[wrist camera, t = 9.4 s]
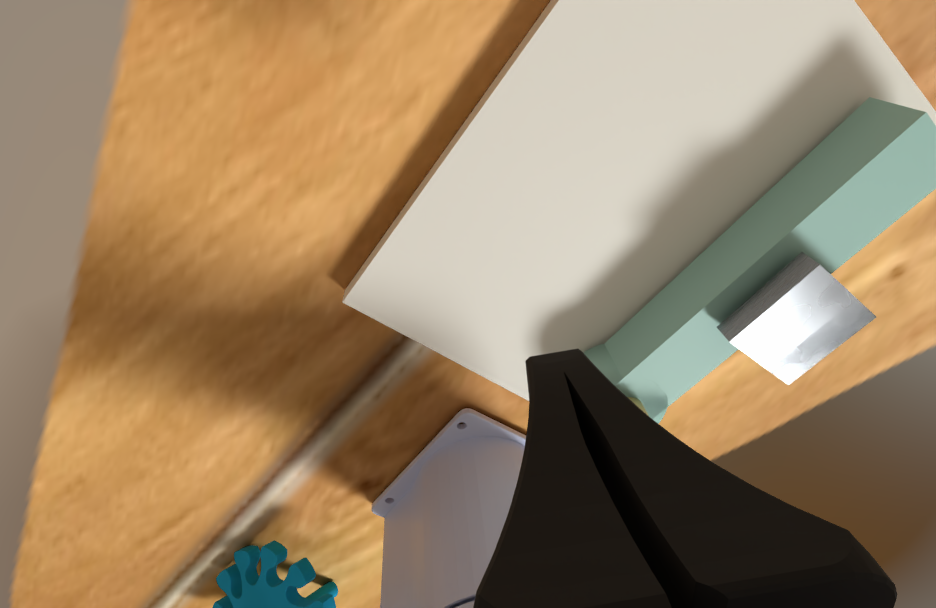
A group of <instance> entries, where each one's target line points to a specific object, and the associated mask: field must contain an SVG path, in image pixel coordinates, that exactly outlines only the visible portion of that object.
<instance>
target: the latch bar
mask: <svg viewBox="0 0 936 608" xmlns="http://www.w3.org/2000/svg"><path fill="white" fill-rule="evenodd" d="M935 189H936V125H935V124H934V122H933V121H932V120H931V118H930V117H929V115H928V114H927V112H924V111H920V110H917V109H913V108H909V107H905V106H901V105H898V104H894V103H890V102H886V101H882V100H879V99H875V98H871V97H869V98H868V99H867V100H866V101H865V102H864V103H863V104H862V105H861V106H860V107H858V108H857V109H856V110H855V111H854V112H853V113H852V114H851V115H850V116H849V117H848V118H847V119H846V120H844V121H843V122H842V123H841V124H840V125H839V126H838V127H837V128H836V129H835V130H834V131H833V132H832V133H830V134H829V135H828V136H827V137H826V138H825V139H824V140H823V141H822V142H821V143H820V144H819V145H818V146H817V147H815V148H814V149H813V150H812V151H811V152H810V153H809V154H808V155H807V156H806V157H805V158H804V159H803V160H801V161H800V162H799V163H798V164H797V165H796V166H795V167H794V168H793V169H792V170H791V171H790V172H789V173H787V174H786V175H785V176H784V177H783V178H782V179H781V180H780V181H779V182H778V183H777V184H776V185H775V186H773V187H772V188H771V189H770V190H769V191H768V192H767V193H766V194H765V195H764V196H763V197H762V198H761V199H759V200H758V201H757V202H756V203H755V204H754V205H753V206H752V207H751V208H750V209H749V210H748V211H747V212H746V213H744V214H743V215H742V216H741V217H740V218H739V219H738V220H737V221H736V222H735V223H734V224H733V225H732V226H730V227H729V228H728V229H727V230H726V231H725V232H724V233H723V234H722V235H721V236H720V237H719V238H718V239H716V240H715V241H714V242H713V243H712V244H711V245H710V246H709V247H708V248H707V249H706V250H705V251H704V252H702V253H701V254H700V255H699V256H698V257H697V258H696V259H695V260H694V261H693V262H692V263H691V264H690V265H689V266H687V267H686V268H685V269H684V270H683V271H682V272H681V273H680V274H679V275H678V276H677V277H676V278H675V279H673V280H672V281H671V282H670V283H669V284H668V285H667V286H666V287H665V288H664V289H663V290H662V291H661V292H659V293H658V294H657V295H656V296H655V297H654V298H653V299H652V300H651V301H650V302H649V303H648V304H647V305H645V306H644V307H643V308H642V309H641V310H640V311H639V312H638V313H637V314H636V315H635V316H634V317H633V318H631V319H630V320H629V321H628V322H627V323H626V324H625V325H624V326H623V327H622V328H621V329H620V330H619V331H618V332H616V333H615V334H614V335H613V336H612V337H611V338H610V339H609V340H608V341H607V342H606V343H605V344H601V345H598V346H595V347H593V348H590V349H589V350H587V351H585V352H584V354H585V355H586V356H587V357H588V359H589V360H590V361H591V362H592V363H593V364H594V365H595V366H596V367H597V368H598V369H599V370H600V371H601V372H602V373H603V374H604V375H605V376H606V377H607V378H608V379H609V380H610V381H611V382H612V383H613V384H614V385H615V386H616V387H617V388H618V389H619V390H620V391H621V392H622V393H623V394H624V395H625V396H626V397H628V398H629V399H630V400H631V401H632V402H633V403H634V404H635V405H636V406H637V407H639V408H640V409H641V410H642V411H643V412H644V413H646V414H647V415H648V416H649V417H650V418H652V419H653V420H654V421H655V422H657V423H659V422H660V421H661V420H662V418H663V417H664V415H665V412H666V410H667V407H668V406H669V405H671V404H672V403H673V402H674V401H676V400H677V399H678V398H679V397H681V396H682V395H683V394H684V393H685V392H687V391H688V390H689V389H690V388H692V387H693V386H694V385H695V384H696V383H698V382H699V381H700V380H701V379H703V378H704V377H705V376H706V375H708V374H709V373H710V372H711V371H712V370H714V369H715V368H716V367H717V366H719V365H720V364H721V363H722V362H723V361H725V360H726V359H727V358H728V357H730V356H731V355H732V354H733V353H735V352H736V351H737V350H738V348H737V347H735V346H734V345H733V344H731V343H730V342H729V341H728V340H727V339H726V338H725V336H724V335H723V334H722V333H721V332H720V331H719V330H718V328H717V326H718V325H719V324H720V323H722V322H723V321H724V320H725V319H726V318H727V317H728V316H730V315H731V314H732V313H733V312H734V311H735V310H736V309H737V308H739V307H740V306H741V305H742V304H743V303H744V302H745V301H747V300H748V299H749V298H750V297H751V296H752V295H753V294H754V293H756V292H757V291H758V290H759V289H760V288H761V287H762V286H764V285H765V284H766V283H767V282H768V281H769V280H770V279H771V278H773V277H774V276H775V275H776V274H777V273H778V272H779V271H781V270H782V269H783V268H784V267H785V266H786V265H787V264H789V263H790V262H791V261H792V260H793V259H794V258H795V257H796V256H798V255H799V254H800V253H801V252H803V253H804V254H806V255H807V256H809V257H810V258H811V259H813V260H814V261H816V262H817V263H819V264H820V265H821V266H822V267H823V268H824V269H825V270H826V271H828V272H829V273H830V274H831V273H833V272H834V271H835V270H836V269H838V268H839V267H840V266H841V265H842V264H844V263H845V262H846V261H847V260H849V259H850V258H851V257H852V256H854V255H855V254H856V253H857V252H858V251H860V250H861V249H862V248H863V247H865V246H866V245H867V244H868V243H869V242H871V241H872V240H873V239H874V238H876V237H877V236H878V235H879V234H881V233H882V232H883V231H884V230H885V229H887V228H888V227H889V226H890V225H892V224H893V223H894V222H895V221H896V220H898V219H899V218H900V217H901V216H903V215H904V214H905V213H906V212H908V211H909V210H910V209H911V208H912V207H914V206H915V205H916V204H917V203H919V202H920V201H921V200H922V199H923V198H925V197H926V196H927V195H928V194H930V193H931V192H932V191H933V190H935Z"/></svg>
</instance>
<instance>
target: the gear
mask: <svg viewBox="0 0 936 608" xmlns="http://www.w3.org/2000/svg"><path fill="white" fill-rule="evenodd" d="M260 557H261V572H260V576H259V575H258V573H257V569H256V568H257V564H258V562H259V559H260ZM286 557H287V549H286V548H285V547H284V546H283V545H282V544H280V543H278V542H276V541H272V542H270V543H268V544H266V545H265V546H263V547H262V548H261V552H260V550H259V547H258V546H255V545H250V546H247V547H244V548H242V549H240V550H238V551H236V552H235V553H234V560H235V563H236V564H234V565H232V566H230V567H229V568H227V569H225V570H223V571H222V572H220V574H219V575H218V576H217V578H216V580H217V584H218V586H219V587H220V588H221V589H222V590H223V591H224V592H225V593H226V594H227V596H225V597H224V598H222V599H220V600H218V601H217V602H215V603H214V605H213V608H336V605H335V601H334V597H336V596H337V594H338V588H337V586H336V584H335V583H334V582H332V581H331V582H328V583H326V584H325V585H324V586H322V587H321V588H319V589H318V590H316V591H315V592H313V593H312V594H310V595H309V596H307V597H306V598H304V597H302V596H300V594H299V593H298V591H297V588H301V587H303V586H305V585H306V584H308V583H309V582H311V581H312V580H313V579H314V578H315V576H316V573H315V571H314V569H313V567H312V565H311V563H310V562H309V561H308V559H307V558H303V559H301V560H299V561H298V562H296V563H294V564H293V565H291V566H290V568H289V571H288V575H287V577H286V579H285V580H284V581H283V580H281V579H280V578H279V577H278V575H277V572H276V568H277V565H278V564H279V563H281V562H283V561H284V560H285V559H286Z"/></svg>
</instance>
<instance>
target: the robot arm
mask: <svg viewBox="0 0 936 608" xmlns="http://www.w3.org/2000/svg"><path fill="white" fill-rule="evenodd" d="M525 363H526V373H527V383H528V392H529V402H530V403H529V419H528V427H527V434H526V435H524V434H522V433H520V432H518V431H516V430H514V429H512V428H510V427H507V426H505V425H503V424H501V423H499V422H497V421H495V420H493V419H491V418H489V417H487V416H485V415H483V414H481V413H479V412H477V411H475V410H473V409H470V408H465V409H462V410H461V411H459V412H458V413H457V414H456V415H455V416H454V418H453V419H452V420H451V421H450V422H449V423H448V424H447V425H446V426H445V427H444V428H443V429H442V430H441V431H440V432H439V433H438V434H437V436H436V437H435V438H434V439H433V440H432V441H431V442H430V443H429V444H428V445H427V446H426V447H425V448H424V449H423V450H422V451H421V452H420V453H419V455H418V456H417V457H416V458H415V459H414V460H413V461H412V462H411V463H410V464H409V465H408V466H407V467H406V468H405V469H404V470H403V471H402V473H401V474H400V475H399V476H398V477H397V478H396V479H395V480H394V481H393V482H392V483H391V484H390V485H389V486H388V487H387V488H386V489H385V491H384V492H383V493H382V494H381V495H380V496H379V497H378V498H377V499H376V500H375V501H374V502H373V504H372V512H373V513H374V514H376V515H379V516H381V517H384V518H385V521H384V542H383V563H382V584H381V605H380V608H893V607H894V604H895V601H896V597H897V592H896V587H895V584H894V583H893V582H892V581H891V579H890V578H889V577H888V576H887V575H886V573H885V572H884V571H883V569H882V568H881V567H880V566H879V564H878V563H877V562H876V561H875V559H874V558H873V557H872V556H871V555H870V553H869V552H868V551H867V550H866V549H865V548H864V547H863V546H862V545H861V544H860V543H859V542H858V541H857V540H856V539H855V538H854V536H853V535H852V534H851V533H850V532H849V531H848V530H846V529H844V528H841V527H839V526H837V525H835V524H832V523H830V522H828V521H826V520H823V519H821V518H819V517H816V516H814V515H812V514H810V513H807V512H805V511H803V510H800V509H798V508H796V507H794V506H791V505H789V504H787V503H785V502H783V501H781V500H780V499H777V498H776V497H774V496H772V495H770V494H768V493H766V492H764V491H762V490H760V489H758V488H756V487H754V486H752V485H750V484H749V483H747V482H745V481H743V480H742V479H740V478H738V477H737V476H735V475H733V474H731V473H730V472H728V471H726V470H724V469H722V468H721V467H719V466H717V465H716V464H714V463H713V462H711V461H710V460H708V459H707V458H705V457H703V456H702V455H700V454H699V453H697V452H696V451H694V450H693V449H692V448H690V447H689V446H687V445H686V444H684V443H683V442H682V441H680V440H679V439H677V438H676V437H675V436H673V435H672V434H671V433H669V432H668V431H667V430H665V429H664V428H663V427H662V426H660V425H659V424H658V423H657V422H655V421H654V420H653V419H652V418H650V417H649V416H648V415H647V414H646V413H644V412H643V411H642V410H641V409H640V408H639V407H637V406H636V405H635V404H634V403H633V402H632V401H631V400H630V399H629V398H628V397H626V396H625V395H624V394H623V393H622V392H621V391H620V390H619V389H618V388H617V387H616V386H615V385H614V384H613V383H612V382H611V381H610V380H609V379H608V378H607V377H606V376H605V375H604V374H603V373H602V372H601V371H600V370H599V369H598V368H597V367H596V366H595V365H594V364H593V363H592V362H591V361H590V360H589V359H588V357H587V356H586V355H585V354H584V353H583V352H582V351H581V350H579V349H578V348H577V349H572V350H566V351H560V352H554V353H548V354H542V355H536V356H531V357H529V358H528V359H527V360H526V361H525ZM460 422H464V423H463V424H458V423H460Z"/></svg>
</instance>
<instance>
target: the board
mask: <svg viewBox="0 0 936 608" xmlns="http://www.w3.org/2000/svg"><path fill="white" fill-rule="evenodd" d="M869 97H871V98H875V99H879V100H882V101H886V102H890V103H894V104H898V105H901V106H905V107H909V108H913V109H917V110H920V111H924V112H927V114H928V115H929V117H930V118H931V120H932V121H933V122H934V124H935V125H936V111H935V110H934V108H933V107H932V106H931V104H930V103H929V102H928V100H927V99H926V98H925V96H924V95H923V93H922V92H921V91H920V89H919V88H918V87H917V85H916V84H915V83H914V81H913V80H912V78H911V77H910V76H909V74H908V73H907V72H906V70H905V69H904V68H903V66H902V65H901V63H900V62H899V61H898V59H897V58H896V57H895V55H894V54H893V53H892V51H891V50H890V48H889V47H888V46H887V44H886V43H885V42H884V40H883V39H882V38H881V36H880V35H879V33H878V32H877V31H876V29H875V28H874V27H873V25H872V24H871V23H870V21H869V20H868V18H867V17H866V16H865V14H864V13H863V12H862V10H861V9H860V8H859V6H858V5H857V3H856V2H855V1H854V0H551V1H550V2H549V4H548V5H547V6H546V8H545V9H544V11H543V12H542V14H541V15H540V16H539V18H538V19H537V21H536V22H535V23H534V25H533V26H532V28H531V29H530V30H529V32H528V33H527V35H526V36H525V37H524V39H523V40H522V42H521V43H520V44H519V46H518V47H517V49H516V50H515V52H514V53H513V54H512V56H511V57H510V59H509V60H508V61H507V63H506V64H505V66H504V67H503V68H502V70H501V71H500V73H499V74H498V75H497V77H496V78H495V80H494V81H493V82H492V84H491V85H490V87H489V88H488V89H487V91H486V92H485V94H484V95H483V97H482V98H481V99H480V101H479V102H478V104H477V105H476V106H475V108H474V109H473V111H472V112H471V113H470V115H469V116H468V118H467V119H466V120H465V122H464V123H463V125H462V126H461V127H460V129H459V130H458V132H457V133H456V135H455V136H454V137H453V139H452V140H451V142H450V143H449V144H448V146H447V147H446V149H445V150H444V151H443V153H442V154H441V156H440V157H439V158H438V160H437V161H436V163H435V164H434V165H433V167H432V168H431V170H430V171H429V173H428V174H427V175H426V177H425V178H424V180H423V181H422V182H421V184H420V185H419V187H418V188H417V189H416V191H415V192H414V194H413V195H412V196H411V198H410V199H409V201H408V202H407V203H406V205H405V206H404V208H403V209H402V211H401V212H400V213H399V215H398V216H397V218H396V219H395V220H394V222H393V223H392V225H391V226H390V227H389V229H388V230H387V232H386V233H385V234H384V236H383V237H382V239H381V240H380V241H379V243H378V244H377V246H376V247H375V248H374V250H373V251H372V253H371V254H370V256H369V257H368V258H367V260H366V261H365V263H364V264H363V265H362V267H361V268H360V270H359V271H358V272H357V274H356V275H355V277H354V278H353V279H352V281H351V282H350V284H349V285H348V286H347V288H346V289H345V291H344V296H343V301H342V303H344V304H346V305H348V306H350V307H352V308H354V309H356V310H358V311H359V312H361V313H363V314H365V315H367V316H369V317H371V318H373V319H375V320H377V321H378V322H380V323H382V324H384V325H386V326H388V327H390V328H392V329H394V330H395V331H397V332H399V333H401V334H403V335H405V336H407V337H409V338H411V339H413V340H414V341H416V342H418V343H420V344H422V345H424V346H426V347H428V348H430V349H431V350H433V351H435V352H437V353H439V354H441V355H443V356H445V357H447V358H448V359H450V360H452V361H454V362H456V363H458V364H460V365H462V366H464V367H466V368H467V369H469V370H471V371H473V372H475V373H477V374H479V375H481V376H483V377H484V378H486V379H488V380H490V381H492V382H494V383H496V384H498V385H500V386H502V387H503V388H505V389H507V390H509V391H511V392H513V393H515V394H517V395H519V396H520V397H522V398H524V399H526V400H528V401H529V392H528V383H527V373H526V363H525V361H526V360H527V359H528V358H529V357H531V356H536V355H542V354H548V353H554V352H560V351H566V350H572V349H577V348H578V349H579V350H581V351H582V352H583V353H584V352H585V351H587V350H589V349H590V348H593V347H595V346H598V345H601V344H605V343H606V342H607V341H608V340H609V339H610V338H611V337H612V336H613V335H614V334H615V333H616V332H618V331H619V330H620V329H621V328H622V327H623V326H624V325H625V324H626V323H627V322H628V321H629V320H630V319H631V318H633V317H634V316H635V315H636V314H637V313H638V312H639V311H640V310H641V309H642V308H643V307H644V306H645V305H647V304H648V303H649V302H650V301H651V300H652V299H653V298H654V297H655V296H656V295H657V294H658V293H659V292H661V291H662V290H663V289H664V288H665V287H666V286H667V285H668V284H669V283H670V282H671V281H672V280H673V279H675V278H676V277H677V276H678V275H679V274H680V273H681V272H682V271H683V270H684V269H685V268H686V267H687V266H689V265H690V264H691V263H692V262H693V261H694V260H695V259H696V258H697V257H698V256H699V255H700V254H701V253H702V252H704V251H705V250H706V249H707V248H708V247H709V246H710V245H711V244H712V243H713V242H714V241H715V240H716V239H718V238H719V237H720V236H721V235H722V234H723V233H724V232H725V231H726V230H727V229H728V228H729V227H730V226H732V225H733V224H734V223H735V222H736V221H737V220H738V219H739V218H740V217H741V216H742V215H743V214H744V213H746V212H747V211H748V210H749V209H750V208H751V207H752V206H753V205H754V204H755V203H756V202H757V201H758V200H759V199H761V198H762V197H763V196H764V195H765V194H766V193H767V192H768V191H769V190H770V189H771V188H772V187H773V186H775V185H776V184H777V183H778V182H779V181H780V180H781V179H782V178H783V177H784V176H785V175H786V174H787V173H789V172H790V171H791V170H792V169H793V168H794V167H795V166H796V165H797V164H798V163H799V162H800V161H801V160H803V159H804V158H805V157H806V156H807V155H808V154H809V153H810V152H811V151H812V150H813V149H814V148H815V147H817V146H818V145H819V144H820V143H821V142H822V141H823V140H824V139H825V138H826V137H827V136H828V135H829V134H830V133H832V132H833V131H834V130H835V129H836V128H837V127H838V126H839V125H840V124H841V123H842V122H843V121H844V120H846V119H847V118H848V117H849V116H850V115H851V114H852V113H853V112H854V111H855V110H856V109H857V108H858V107H860V106H861V105H862V104H863V103H864V102H865V101H866V100H867V99H868V98H869Z"/></svg>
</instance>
